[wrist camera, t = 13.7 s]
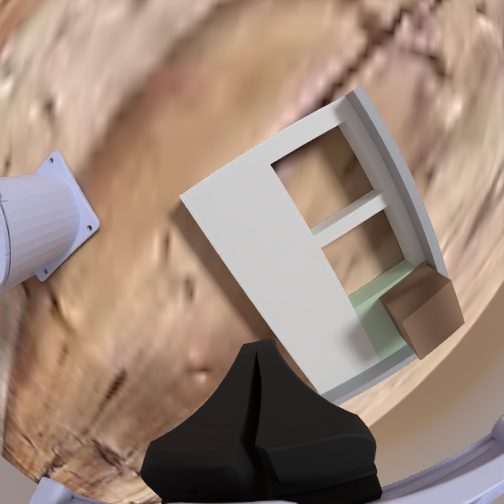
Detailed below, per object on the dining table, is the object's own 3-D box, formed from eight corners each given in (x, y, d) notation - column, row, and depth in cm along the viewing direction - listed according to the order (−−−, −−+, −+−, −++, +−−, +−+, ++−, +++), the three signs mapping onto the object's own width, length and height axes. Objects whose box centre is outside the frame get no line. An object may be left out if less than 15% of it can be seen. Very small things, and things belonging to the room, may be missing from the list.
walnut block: (399, 334, 21) (420, 360, 17) (378, 297, 20) (401, 322, 16) (438, 301, 21) (464, 322, 17) (422, 262, 20) (450, 280, 16)
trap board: (319, 385, 25) (327, 410, 22) (185, 193, 20) (173, 198, 17) (440, 309, 23) (459, 326, 20) (345, 97, 18) (362, 85, 15)
